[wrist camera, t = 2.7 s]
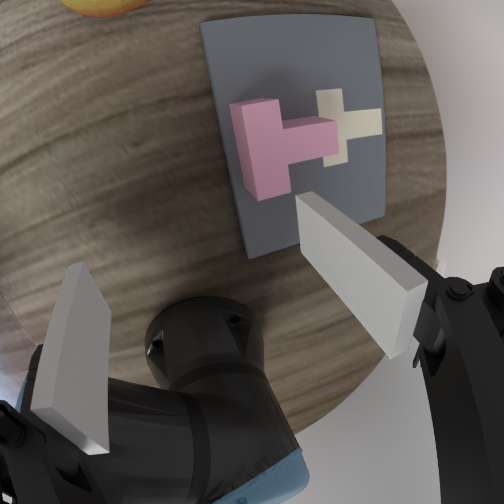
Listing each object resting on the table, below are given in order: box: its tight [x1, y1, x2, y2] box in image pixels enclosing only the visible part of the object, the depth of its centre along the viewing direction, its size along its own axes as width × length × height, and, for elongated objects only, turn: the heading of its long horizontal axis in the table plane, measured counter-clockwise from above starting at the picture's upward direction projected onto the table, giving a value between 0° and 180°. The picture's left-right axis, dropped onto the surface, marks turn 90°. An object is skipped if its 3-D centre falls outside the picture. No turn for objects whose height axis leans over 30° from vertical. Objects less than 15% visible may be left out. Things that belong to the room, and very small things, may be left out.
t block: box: [229, 98, 339, 201], centre depth 25 cm, size 8×8×4 cm
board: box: [199, 14, 386, 259], centre depth 28 cm, size 18×24×1 cm
